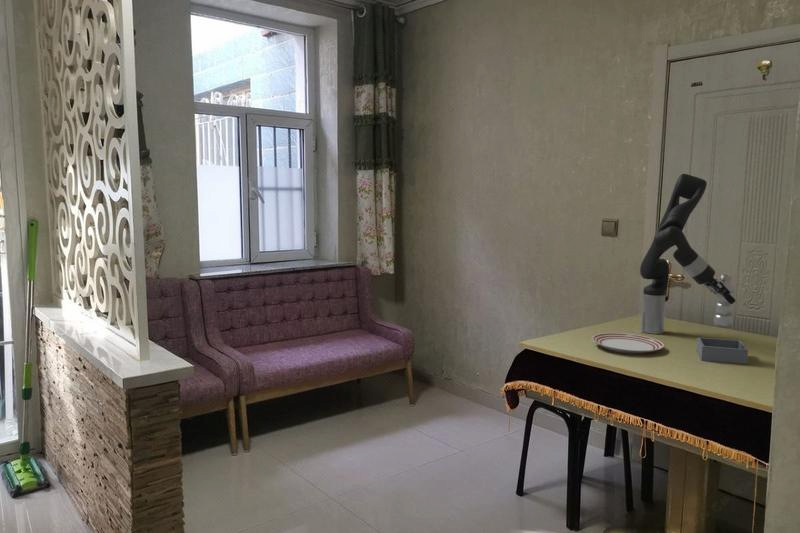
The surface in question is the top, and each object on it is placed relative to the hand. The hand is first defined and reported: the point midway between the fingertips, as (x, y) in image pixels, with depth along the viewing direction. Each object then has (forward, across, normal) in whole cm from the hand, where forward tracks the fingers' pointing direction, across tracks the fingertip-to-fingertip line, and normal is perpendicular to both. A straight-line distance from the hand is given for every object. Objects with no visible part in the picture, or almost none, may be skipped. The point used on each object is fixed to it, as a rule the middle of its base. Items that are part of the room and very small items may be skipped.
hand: (729, 300), depth 226 cm
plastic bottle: (+6, 0, +9) cm, 11 cm away
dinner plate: (-7, +12, +39) cm, 42 cm away
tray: (+14, 0, +17) cm, 22 cm away
